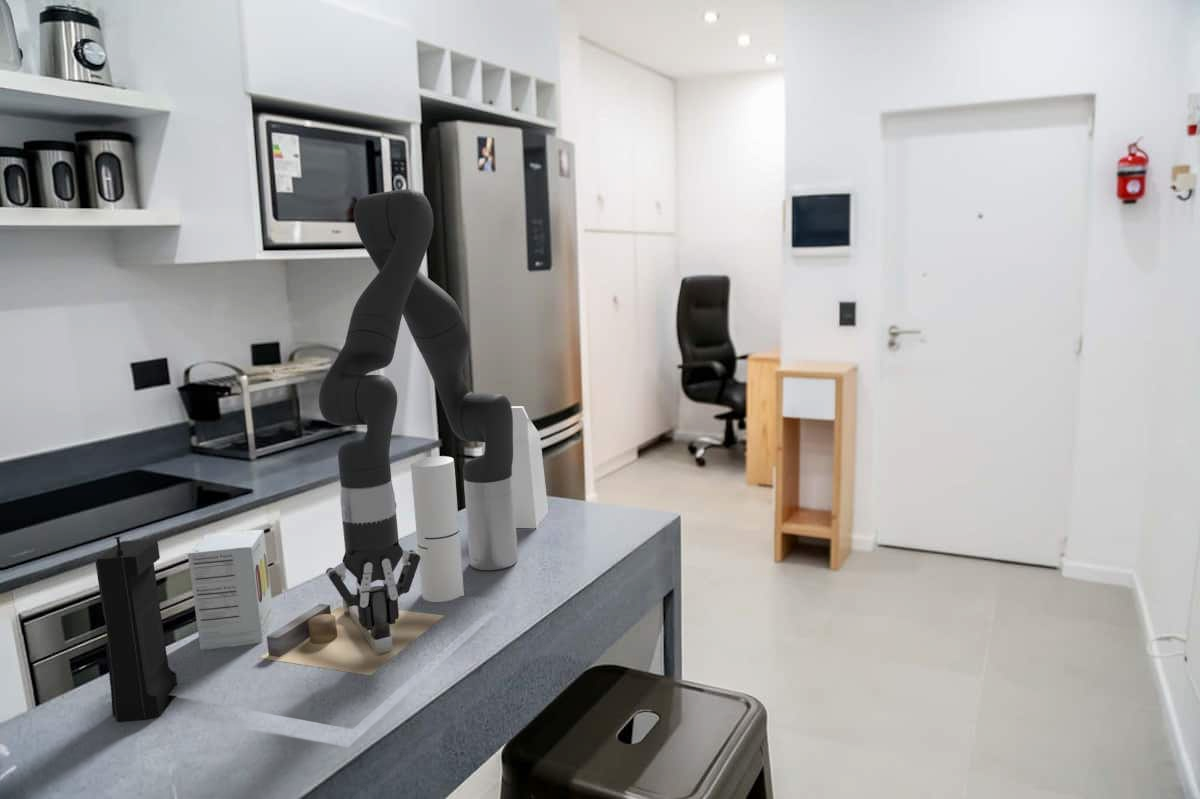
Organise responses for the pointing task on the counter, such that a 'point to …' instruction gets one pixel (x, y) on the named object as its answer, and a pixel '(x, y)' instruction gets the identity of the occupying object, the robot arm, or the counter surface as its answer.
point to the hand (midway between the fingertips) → (379, 624)
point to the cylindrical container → (437, 528)
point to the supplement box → (231, 589)
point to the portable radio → (134, 631)
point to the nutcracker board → (343, 641)
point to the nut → (322, 629)
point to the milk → (527, 472)
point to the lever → (374, 620)
